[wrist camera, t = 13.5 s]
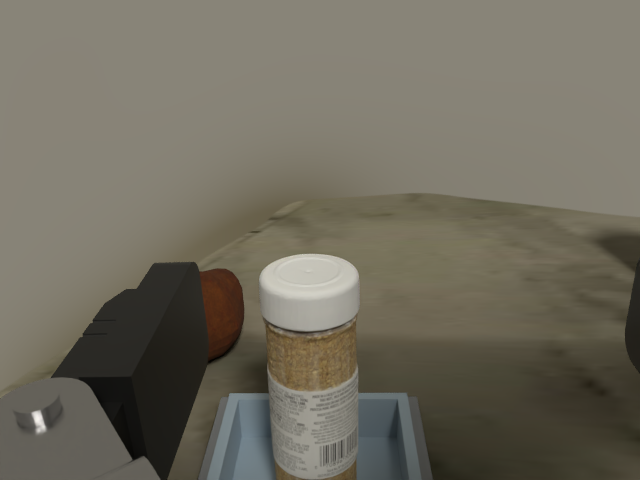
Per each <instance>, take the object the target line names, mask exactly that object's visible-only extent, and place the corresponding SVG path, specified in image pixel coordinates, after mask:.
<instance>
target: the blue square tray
mask: <svg viewBox="0 0 640 480" xmlns="http://www.w3.org/2000/svg"><path fill="white" fill-rule="evenodd" d="M356 459H357V468H356V470H357V480H433V478H432V473H431V467H430V462H429V457H428V452H427V447H426V441H425V436H424V431H423V426H422V420H421V415H420V410H419V405H418V400H417V397H408V396H407V393H358V454H357V457H356ZM198 480H276V473H275V459H274V455H273V447H272V434H271V420H270V404H269V393H230V395H229V397H221V401H220V404H219V408H218V411H217V415H216V418H215V421H214V425H213V428H212V432H211V435H210V439H209V442H208V446H207V449H206V453H205V456H204V460H203V463H202V467H201V470H200V474H199V477H198Z"/></svg>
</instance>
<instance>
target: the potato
mask: <svg viewBox="0 0 640 480" xmlns="http://www.w3.org/2000/svg"><path fill="white" fill-rule="evenodd" d="M199 273H200V279H201V286H202V294H203V301H204V308H205V315H206V322H207V329H208V338H209V353H208V361H209V360H211V359H214V358H216V357H219V356H221V355H223V354H224V353H225V352H226V351H227V350H228V349H229V348H230V347H231V346H232V345H233V344H234V342H235V341H236V339H237V338H238V336H239V335H240V333H241V329H242V325H243V321H244V302H243V292H242V287H241V285H240V283H239V280H238V279H237V278H236V276H235V275H234V274H233V273H232V272H231V271H229V270H227V269H218V268H217V269H212V270H208V271H203V272H199Z"/></svg>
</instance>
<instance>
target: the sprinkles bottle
mask: <svg viewBox="0 0 640 480" xmlns="http://www.w3.org/2000/svg"><path fill="white" fill-rule="evenodd" d="M259 295H260V309H261V313H262V315H263V320H264V323H265V324H266V340H267V358H268V363H267V372H268V388H269V404H270V420H271V434H272V447H273V455H274V459H275V473H276V480H357V470H356V468H357V459H356V457H357V454H358V365H357V361H356V319H357V312H358V310H359V306H360V291H359V274H358V271H357V269H356V268H355V267H354V266H353V265H352V264H351V263H349V262H348V261H346V260H344V259H341V258H338V257H335V256H331V255H323V254H301V255H294V256H289V257H285V258H282V259H279V260H277V261H275V262H273V263H271V264H269V265H268V266H267V267H266V268H265V269H264V270H263V271H262V272H261V274H260V277H259Z"/></svg>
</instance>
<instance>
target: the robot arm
mask: <svg viewBox="0 0 640 480" xmlns="http://www.w3.org/2000/svg"><path fill="white" fill-rule="evenodd" d="M625 342H626V348H627V352H628V355H629V358H630V360H631V362H632V363H633V365H634V366H635V368H636V369H637V370H638V372H639V373H640V258H639V260H638V263H637V267H636V272H635V278H634V283H633V289H632V294H631V300H630V305H629V311H628V316H627V322H626V328H625ZM208 353H209V338H208V329H207V322H206V315H205V308H204V301H203V294H202V286H201V279H200V273H199V269H198V266H197V264H196V263H195V262H174V263H154V264H153V265H152V266H151V268H150V269H149V271H148V273H147V274H146V276H145V277H144V279H143V280H142V282H141V283H140V285H139V286H138V288H137V289H126V290H124V291H123V292H121V293H120V294H118V295H117V296H115V297H114V298H112V299H111V300H109V301H108V302H106V303H105V304H104V305H103V307H102V308H101V309H100V311H99V312H98V314H97V315H96V316H95V318H94V319H93V323H91V324H89V326H88V327H87V329H86V330H85V331H84V333H83V337H80V338H79V340H78V341H77V342H76V344H75V345H74V346H73V348H72V349H71V351H70V352H69V353H68V355H67V356H66V357H65V359H64V360H63V362H62V363H61V364H60V366H59V367H58V368H57V370H56V371H55V373H54V374H53V375H52V377H51V378H49V379H43V380H39V381H35V382H32V383H29V384H26V385H24V386H21V387H19V388H17V389H15V390H13V391H11V392H9V393H8V394H6V395H4V396H3V397H1V398H0V480H167V478H168V475H169V472H170V469H171V467H172V464H173V461H174V458H175V455H176V452H177V450H178V447H179V444H180V441H181V438H182V435H183V432H184V430H185V427H186V424H187V421H188V418H189V415H190V413H191V410H192V407H193V404H194V401H195V398H196V396H197V393H198V390H199V387H200V384H201V381H202V378H203V376H204V373H205V370H206V367H207V362H208Z"/></svg>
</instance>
